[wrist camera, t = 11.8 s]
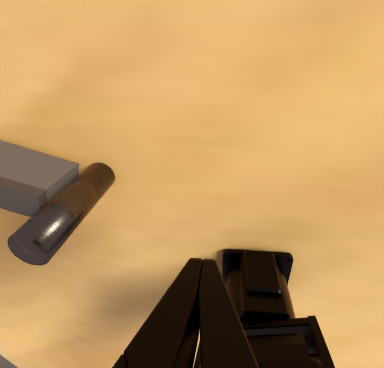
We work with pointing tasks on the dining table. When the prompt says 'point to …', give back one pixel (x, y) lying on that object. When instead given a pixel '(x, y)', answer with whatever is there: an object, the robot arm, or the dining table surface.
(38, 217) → the post
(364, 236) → the dining table surface
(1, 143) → the grey long flat bar
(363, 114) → the dining table surface
